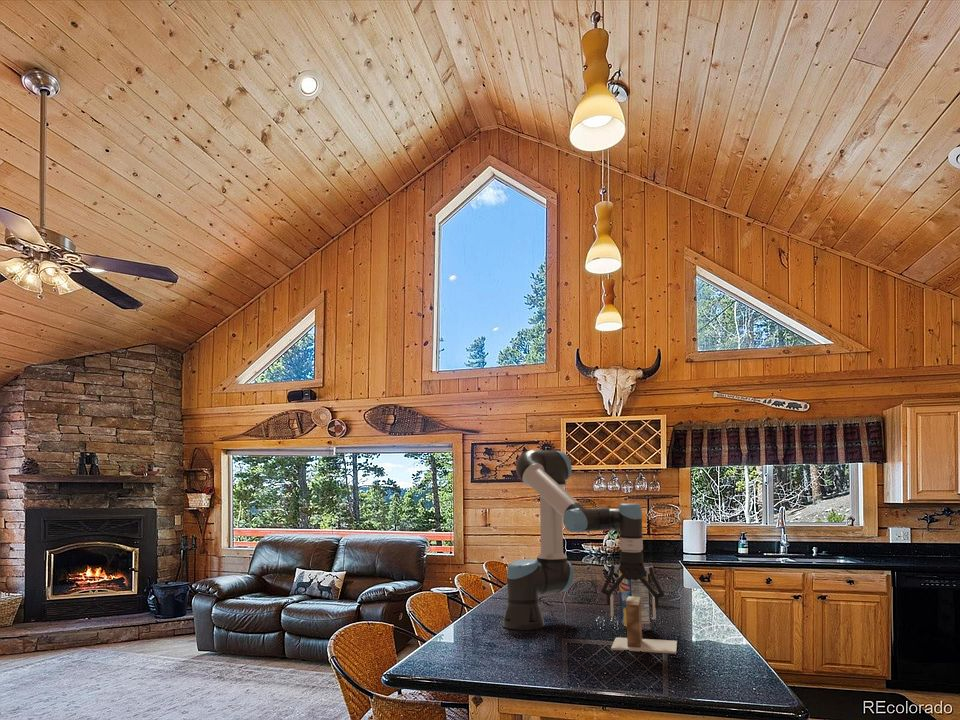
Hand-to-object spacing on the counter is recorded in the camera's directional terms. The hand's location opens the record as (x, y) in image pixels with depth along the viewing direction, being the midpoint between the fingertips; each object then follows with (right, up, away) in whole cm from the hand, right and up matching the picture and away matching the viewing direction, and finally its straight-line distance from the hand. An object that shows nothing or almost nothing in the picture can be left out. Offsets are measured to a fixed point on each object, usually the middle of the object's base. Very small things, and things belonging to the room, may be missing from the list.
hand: (633, 617), depth 230 cm
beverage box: (+6, -13, +25) cm, 29 cm away
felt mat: (+3, -8, -3) cm, 9 cm away
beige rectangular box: (0, -8, -2) cm, 8 cm away
